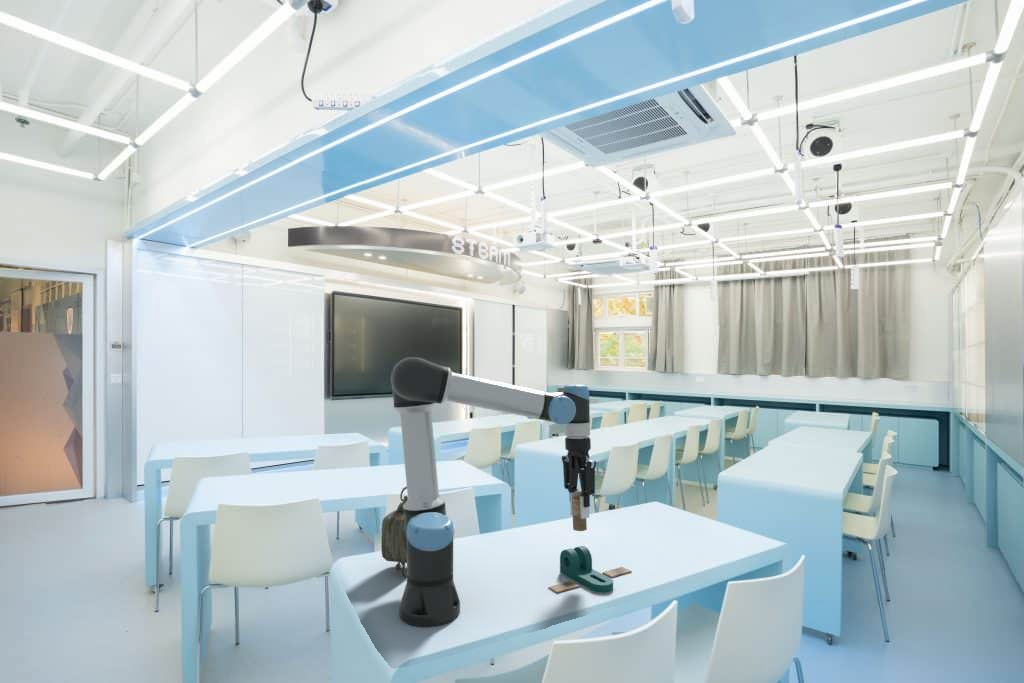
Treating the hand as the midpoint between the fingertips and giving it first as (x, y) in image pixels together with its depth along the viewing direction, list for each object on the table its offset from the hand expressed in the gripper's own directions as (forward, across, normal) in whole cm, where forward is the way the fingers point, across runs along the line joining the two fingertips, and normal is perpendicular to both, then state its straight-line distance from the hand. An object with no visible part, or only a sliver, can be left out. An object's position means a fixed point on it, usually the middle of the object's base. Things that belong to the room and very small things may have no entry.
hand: (579, 515), depth 160 cm
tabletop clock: (+17, +33, +42) cm, 56 cm away
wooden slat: (+18, -4, -1) cm, 18 cm away
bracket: (+18, -3, 0) cm, 18 cm away
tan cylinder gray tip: (+4, 0, 0) cm, 4 cm away
